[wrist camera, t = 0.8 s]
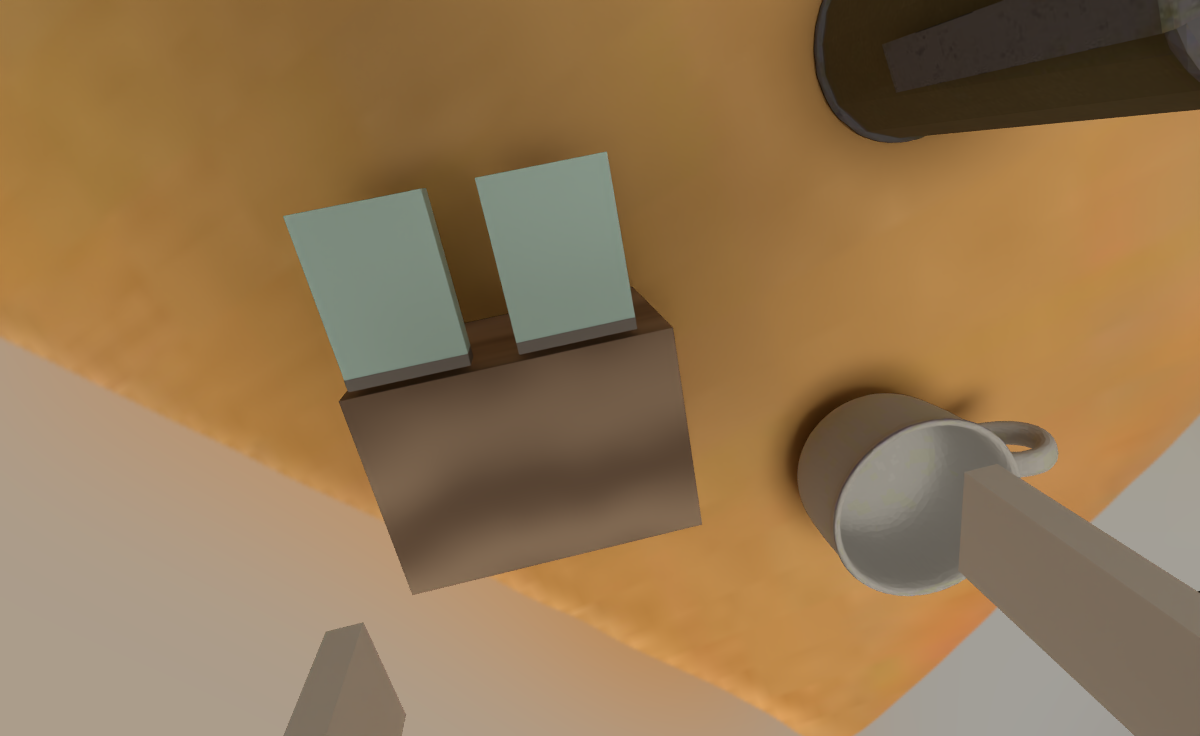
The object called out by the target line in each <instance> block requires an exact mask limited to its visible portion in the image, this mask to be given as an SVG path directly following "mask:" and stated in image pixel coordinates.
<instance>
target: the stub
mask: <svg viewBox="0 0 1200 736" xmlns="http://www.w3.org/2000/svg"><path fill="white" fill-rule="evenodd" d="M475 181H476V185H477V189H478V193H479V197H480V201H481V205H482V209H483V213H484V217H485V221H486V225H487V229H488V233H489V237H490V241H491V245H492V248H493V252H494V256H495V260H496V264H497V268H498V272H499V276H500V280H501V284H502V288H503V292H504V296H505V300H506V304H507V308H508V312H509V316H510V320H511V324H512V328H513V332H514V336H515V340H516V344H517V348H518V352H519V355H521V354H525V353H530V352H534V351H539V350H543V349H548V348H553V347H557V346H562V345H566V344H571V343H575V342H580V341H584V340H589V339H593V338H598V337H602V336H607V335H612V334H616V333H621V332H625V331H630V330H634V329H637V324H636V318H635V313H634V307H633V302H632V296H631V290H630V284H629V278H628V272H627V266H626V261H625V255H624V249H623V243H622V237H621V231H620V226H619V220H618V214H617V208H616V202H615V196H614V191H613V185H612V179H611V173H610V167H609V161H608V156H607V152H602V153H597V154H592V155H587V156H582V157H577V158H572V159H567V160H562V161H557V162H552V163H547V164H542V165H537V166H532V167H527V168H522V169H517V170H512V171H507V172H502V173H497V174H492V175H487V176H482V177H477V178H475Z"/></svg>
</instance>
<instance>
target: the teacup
mask: <svg viewBox="0 0 1200 736" xmlns="http://www.w3.org/2000/svg"><path fill="white" fill-rule="evenodd" d="M1005 444H1011V445H1020V446H1026V447H1029V448H1032V449H1030V450H1026V451H1022V452H1010V450H1009V449H1008V447H1007V446H1006V445H1005ZM1057 458H1058V449H1057V444H1056V442H1055V440H1054V438H1053V437H1052V436H1051V434H1050V433H1048V432H1047V431H1046V430H1044V429H1042V428H1040V427H1038V426H1036V425H1032V424H1029V423H1023V422H1015V421H995V422H985V423H978V424H977V423H974V422H970V421H967V420H964V419H962V418H960V417H958V416H956V415H954V414H952V413H950V412H948V411H946V410H944V409H942V408H939V407H937V406H935V405H932V404H930V403H928V402H925V401H923V400H920V399H917V398H914V397H911V396H906V395H901V394H893V393H880V394H871V395H866V396H863V397H859V398H856V399H853V400H851V401H849V402H846V403H844V404H843V405H841V406H839V407H838V408H836V409H834V410H833V411H832V412H830V413H829V414H828V415H827V416H826V417H825V418H824V419H822V420H821V421H820V422H819V424H818V425H817V426H816V427H815V428H814V430H813V431H812V432H811V434H810V435H809V437H808V439H807V441H806V443H805V445H804V447H803V450H802V452H801V456H800V459H799V463H798V472H797V481H798V489H799V494H800V497H801V500H802V503H803V505H804V508H805V510H806V512H807V514H808V515H809V517H810V519H811V520H812V522H813V523H814V525H815V526H816V527H817V529H818V530H819V531H820V533H821V534H822V535H823V537H824V538H825V539H826V541H827V542H828V543H829V544H830V545H831V547H832V548H833V549H834V550H835V551H836V553H837V554H838V555H839V557H840V559H841V561H842V563H843V564H844V566H845V567H846V568H847V570H848V571H849V572H850V573H851V574H852V575H853V576H854V577H855V578H856V579H858V580H859V581H860V582H862V583H863V584H865V585H867V586H868V587H870V588H872V589H875V590H876V591H881V592H883V593H887V594H892V595H899V596H915V595H925V594H930V593H933V592H937V591H941V590H944V589H946V588H949V587H951V586H953V585H955V584H958V583H959V582H961V581H962V580H964V579H966V577H965V576H964V575H963V574H962V573H960V572H959V571H958V568H959V552H960V536H961V520H962V504H963V488H964V472H967V471H971V470H975V469H979V468H983V467H987V466H991V465H995V464H998V465H1000V466H1001V467H1003V468H1004V469H1006V470H1008V471H1009V472H1011V473H1012V474H1014V475H1015V476H1017V477H1019V478H1020V477H1028V476H1033V475H1037V474H1040V473H1044V472H1046V471H1048V470H1050V469H1051V468H1052V467H1053V466H1054V464H1055V463H1056V461H1057ZM1020 479H1021V478H1020Z"/></svg>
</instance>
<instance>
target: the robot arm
mask: <svg viewBox="0 0 1200 736" xmlns="http://www.w3.org/2000/svg"><path fill="white" fill-rule="evenodd" d="M958 571H959V572H960V573H962V574H963V575H964V576H965V577H966V578H967V579H968V580H969V581H970V582H971V583H972V584H973V585H974V586H975V587H976V588H978V589H979V590H980V591H981V592H982V593H983V594H984V595H985V596H986V597H987V598H988V599H989V600H990V601H991V602H992V603H994V604H995V605H996V606H997V607H998V608H999V609H1000V610H1001V611H1002V612H1003V613H1004V614H1005V615H1006V616H1007V617H1008V618H1010V619H1011V620H1012V621H1013V622H1014V623H1015V624H1016V625H1017V626H1018V627H1019V628H1020V629H1021V630H1022V631H1023V632H1025V633H1026V634H1027V635H1028V636H1029V637H1030V638H1031V639H1032V640H1033V641H1034V642H1035V643H1036V644H1037V645H1038V646H1039V647H1041V648H1042V649H1043V650H1044V651H1045V652H1046V653H1047V654H1048V655H1049V656H1050V657H1051V658H1052V659H1053V660H1054V661H1056V662H1057V663H1058V664H1059V665H1060V666H1061V667H1062V668H1063V669H1064V670H1065V671H1066V672H1067V673H1068V674H1070V676H1071V677H1073V678H1074V679H1075V680H1076V681H1077V682H1078V683H1079V684H1080V685H1081V686H1082V687H1083V688H1084V689H1085V690H1086V691H1088V692H1089V693H1090V694H1091V695H1092V696H1093V697H1094V698H1095V699H1096V700H1097V701H1098V702H1099V703H1100V704H1101V705H1102V706H1104V707H1105V708H1106V709H1107V710H1108V711H1109V712H1110V713H1111V714H1112V715H1113V716H1114V717H1115V718H1116V719H1118V721H1120V722H1121V723H1122V724H1123V725H1124V726H1125V727H1126V728H1127V729H1128V730H1129V731H1130V732H1131V733H1132V734H1133V735H1134V736H1200V591H1196V590H1194V589H1193V588H1191V587H1190V586H1188V585H1186V584H1185V583H1183V582H1181V581H1180V580H1179V579H1177V578H1175V577H1174V576H1172V575H1171V574H1169V573H1168V572H1166V571H1164V570H1163V569H1161V568H1160V567H1158V566H1157V565H1155V564H1153V563H1151V562H1150V561H1149V560H1147V559H1145V558H1144V557H1142V556H1141V555H1139V554H1137V553H1136V552H1135V551H1133V550H1131V549H1130V548H1128V547H1127V546H1125V545H1124V544H1122V543H1120V542H1119V541H1117V540H1116V539H1114V538H1113V537H1111V536H1110V535H1108V534H1106V533H1105V532H1103V531H1102V530H1100V529H1098V528H1097V527H1095V526H1094V525H1092V524H1091V523H1089V522H1088V521H1086V520H1084V519H1083V518H1081V517H1080V516H1078V515H1077V514H1075V513H1073V512H1072V511H1070V510H1069V509H1067V508H1066V507H1064V506H1062V505H1061V504H1059V503H1058V502H1056V501H1055V500H1053V499H1052V498H1050V497H1048V496H1047V495H1045V494H1044V493H1042V492H1041V491H1039V490H1037V489H1036V488H1034V487H1033V486H1031V485H1030V484H1028V483H1026V482H1025V481H1023V480H1022V479H1020V478H1019V477H1017V476H1015V475H1014V474H1012V473H1011V472H1009V471H1008V470H1006V469H1004V468H1003V467H1001V466H1000V465H998V464H995V465H991V466H987V467H983V468H979V469H975V470H971V471H967V472H964V488H963V504H962V520H961V536H960V552H959V568H958ZM405 716H406V714H405V712H404V710H403V707H402V705H401V703H400V701H399V699H398V697H397V694H396V692H395V690H394V688H393V686H392V684H391V681H390V679H389V677H388V675H387V673H386V670H385V668H384V666H383V664H382V662H381V660H380V658H379V655H378V653H377V651H376V649H375V647H374V644H373V642H372V640H371V638H370V636H369V634H368V631H367V629H366V627H365V625H364V623H359V624H355V625H351V626H347V627H343V628H339V629H335V630H331V631H327V632H326V633H325V635H324V638H323V640H322V643H321V645H320V647H319V650H318V652H317V655H316V658H315V660H314V662H313V665H312V667H311V669H310V672H309V674H308V677H307V679H306V682H305V684H304V687H303V689H302V692H301V694H300V696H299V699H298V702H297V704H296V707H295V709H294V711H293V714H292V716H291V719H290V721H289V723H288V726H287V728H286V731H285V733H284V736H402V731H403V726H404V721H405Z"/></svg>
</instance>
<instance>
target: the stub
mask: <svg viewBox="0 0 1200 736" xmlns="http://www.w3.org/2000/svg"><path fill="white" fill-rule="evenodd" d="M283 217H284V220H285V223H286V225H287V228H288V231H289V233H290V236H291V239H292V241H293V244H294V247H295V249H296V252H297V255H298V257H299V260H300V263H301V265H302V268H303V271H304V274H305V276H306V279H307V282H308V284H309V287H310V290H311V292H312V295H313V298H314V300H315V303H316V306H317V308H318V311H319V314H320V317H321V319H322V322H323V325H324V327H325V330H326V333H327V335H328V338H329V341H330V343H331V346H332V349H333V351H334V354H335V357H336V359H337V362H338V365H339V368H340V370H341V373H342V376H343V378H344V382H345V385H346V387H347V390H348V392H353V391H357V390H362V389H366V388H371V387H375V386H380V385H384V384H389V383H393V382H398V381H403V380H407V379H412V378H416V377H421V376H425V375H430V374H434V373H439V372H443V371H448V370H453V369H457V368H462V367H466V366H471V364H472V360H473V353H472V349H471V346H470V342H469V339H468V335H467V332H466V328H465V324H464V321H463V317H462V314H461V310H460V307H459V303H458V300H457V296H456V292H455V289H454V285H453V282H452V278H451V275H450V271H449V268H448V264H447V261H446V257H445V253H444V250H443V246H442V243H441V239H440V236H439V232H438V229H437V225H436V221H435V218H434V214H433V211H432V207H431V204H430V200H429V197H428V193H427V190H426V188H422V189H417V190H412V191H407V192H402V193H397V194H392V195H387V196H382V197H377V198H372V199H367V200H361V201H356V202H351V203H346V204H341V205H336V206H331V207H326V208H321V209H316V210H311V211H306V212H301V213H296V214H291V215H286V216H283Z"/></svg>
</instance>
